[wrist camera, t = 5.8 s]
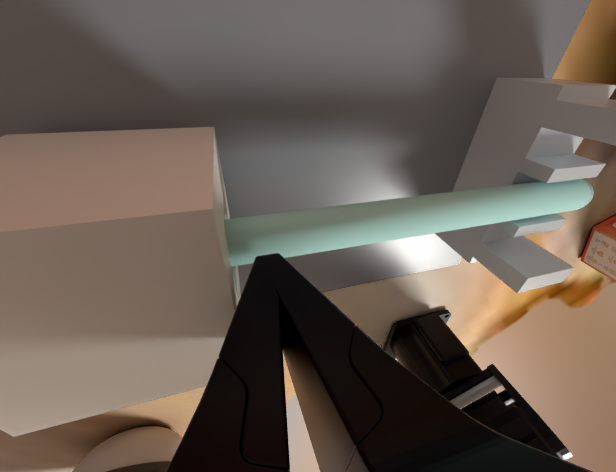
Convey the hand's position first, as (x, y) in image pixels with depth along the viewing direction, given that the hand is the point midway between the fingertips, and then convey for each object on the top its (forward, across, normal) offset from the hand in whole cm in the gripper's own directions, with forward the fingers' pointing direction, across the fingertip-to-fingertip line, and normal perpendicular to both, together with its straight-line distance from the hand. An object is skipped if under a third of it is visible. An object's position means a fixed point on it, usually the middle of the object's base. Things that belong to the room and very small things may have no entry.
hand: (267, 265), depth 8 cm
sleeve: (+4, +4, 0) cm, 6 cm away
